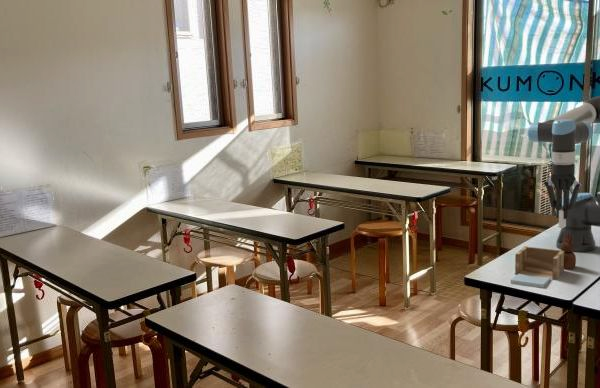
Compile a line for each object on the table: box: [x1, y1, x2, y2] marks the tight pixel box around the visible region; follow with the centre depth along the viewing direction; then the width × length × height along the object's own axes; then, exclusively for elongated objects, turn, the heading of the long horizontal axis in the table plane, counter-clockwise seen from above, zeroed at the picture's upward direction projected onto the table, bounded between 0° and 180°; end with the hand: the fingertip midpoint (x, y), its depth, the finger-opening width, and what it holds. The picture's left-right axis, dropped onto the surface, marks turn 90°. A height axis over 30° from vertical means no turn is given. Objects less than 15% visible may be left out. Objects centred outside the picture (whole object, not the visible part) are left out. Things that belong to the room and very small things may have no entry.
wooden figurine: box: [560, 233, 577, 270], centre depth 219 cm, size 7×6×15 cm
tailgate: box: [510, 274, 552, 289], centre depth 206 cm, size 1×11×10 cm
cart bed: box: [514, 246, 565, 281], centre depth 215 cm, size 13×14×9 cm
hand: (562, 227), depth 215 cm, fingers closed
